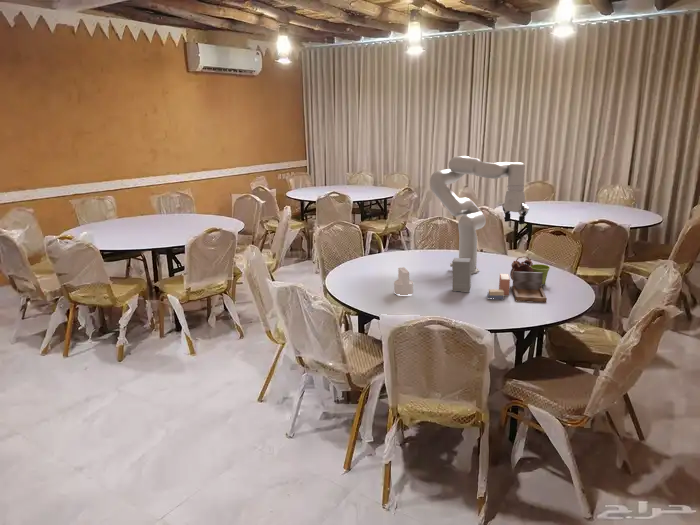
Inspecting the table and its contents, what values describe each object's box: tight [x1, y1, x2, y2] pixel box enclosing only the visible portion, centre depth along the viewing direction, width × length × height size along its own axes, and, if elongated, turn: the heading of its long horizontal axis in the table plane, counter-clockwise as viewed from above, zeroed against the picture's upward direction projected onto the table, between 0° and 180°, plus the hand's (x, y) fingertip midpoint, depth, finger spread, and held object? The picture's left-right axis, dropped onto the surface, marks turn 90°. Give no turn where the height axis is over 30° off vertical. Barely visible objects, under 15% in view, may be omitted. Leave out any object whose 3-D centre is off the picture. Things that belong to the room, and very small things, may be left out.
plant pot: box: [530, 263, 551, 285], centre depth 253 cm, size 9×9×9 cm
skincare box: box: [451, 257, 472, 293], centre depth 244 cm, size 8×7×16 cm
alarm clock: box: [509, 256, 534, 281], centre depth 249 cm, size 11×5×15 cm, turn 100°
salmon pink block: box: [498, 273, 511, 296], centre depth 241 cm, size 4×9×8 cm, turn 167°
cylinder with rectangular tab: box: [393, 266, 414, 295], centre depth 242 cm, size 9×9×12 cm
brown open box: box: [511, 271, 548, 303], centre depth 235 cm, size 13×17×9 cm
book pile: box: [486, 288, 504, 300], centre depth 234 cm, size 7×4×4 cm, turn 78°
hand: (514, 222), depth 253 cm, fingers open, 9 cm apart
